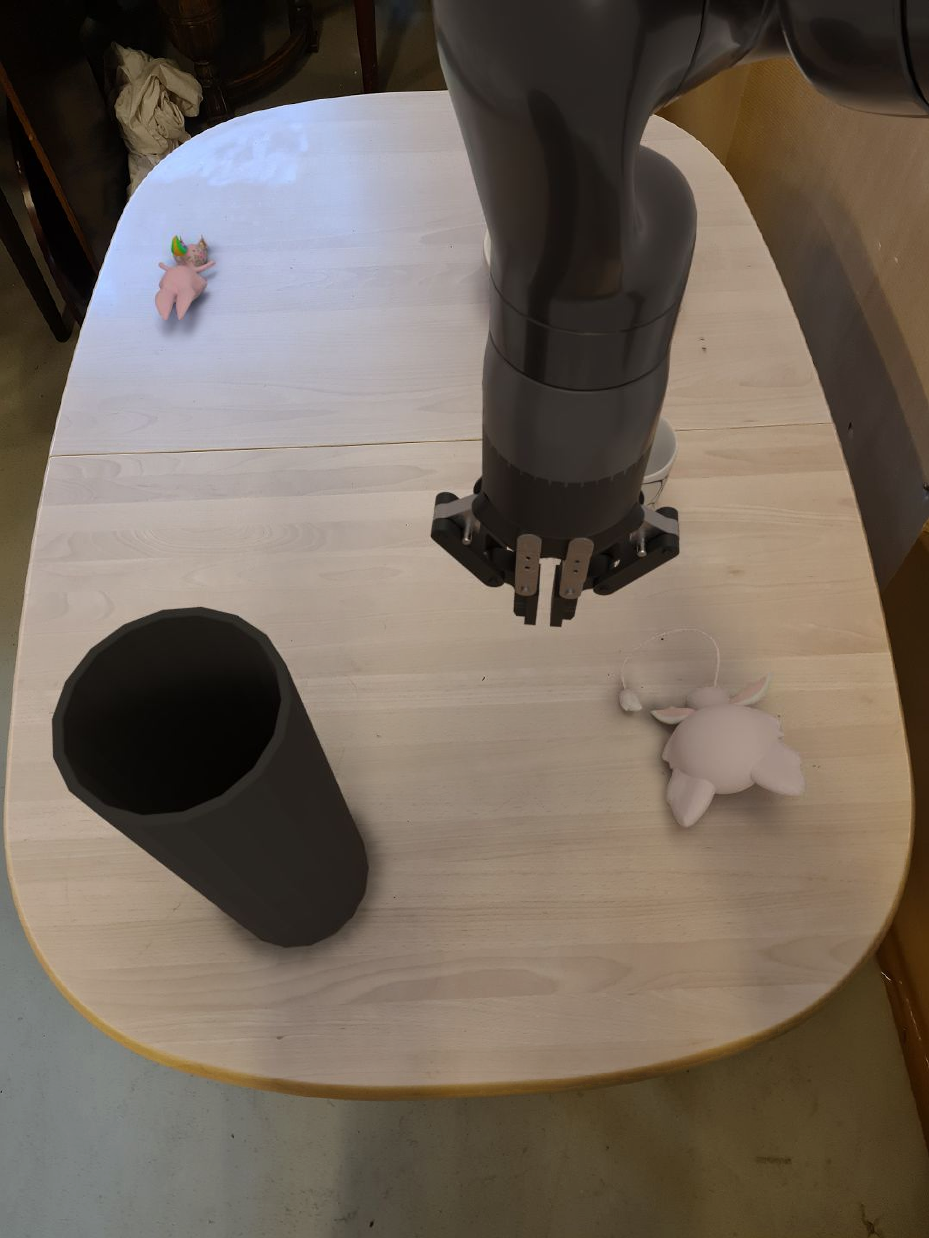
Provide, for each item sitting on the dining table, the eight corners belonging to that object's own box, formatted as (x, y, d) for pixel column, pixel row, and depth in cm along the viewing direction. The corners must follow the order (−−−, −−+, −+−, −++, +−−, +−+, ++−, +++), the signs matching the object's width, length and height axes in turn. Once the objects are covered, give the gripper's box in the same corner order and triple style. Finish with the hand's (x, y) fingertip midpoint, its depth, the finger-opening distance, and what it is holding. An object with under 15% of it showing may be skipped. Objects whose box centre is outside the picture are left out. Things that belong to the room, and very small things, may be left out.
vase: (225, 953, 60) (31, 835, 34) (232, 812, 65) (68, 616, 39) (371, 940, 60) (290, 812, 34) (367, 801, 65) (293, 598, 39)
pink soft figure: (171, 262, 99) (147, 335, 90) (155, 211, 94) (128, 282, 85) (225, 260, 99) (207, 333, 90) (212, 208, 95) (191, 279, 85)
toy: (632, 715, 74) (687, 861, 62) (599, 659, 69) (653, 806, 58) (761, 659, 71) (844, 800, 60) (736, 597, 67) (821, 737, 55)
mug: (571, 581, 75) (582, 512, 66) (519, 515, 79) (524, 441, 70) (675, 525, 78) (699, 452, 69) (620, 464, 81) (637, 387, 73)
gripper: (401, 467, 35) (425, 659, 50) (735, 488, 34) (657, 677, 49) (423, 339, 39) (439, 554, 54) (725, 355, 38) (655, 569, 53)
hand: (543, 612), depth 52 cm, fingers closed
